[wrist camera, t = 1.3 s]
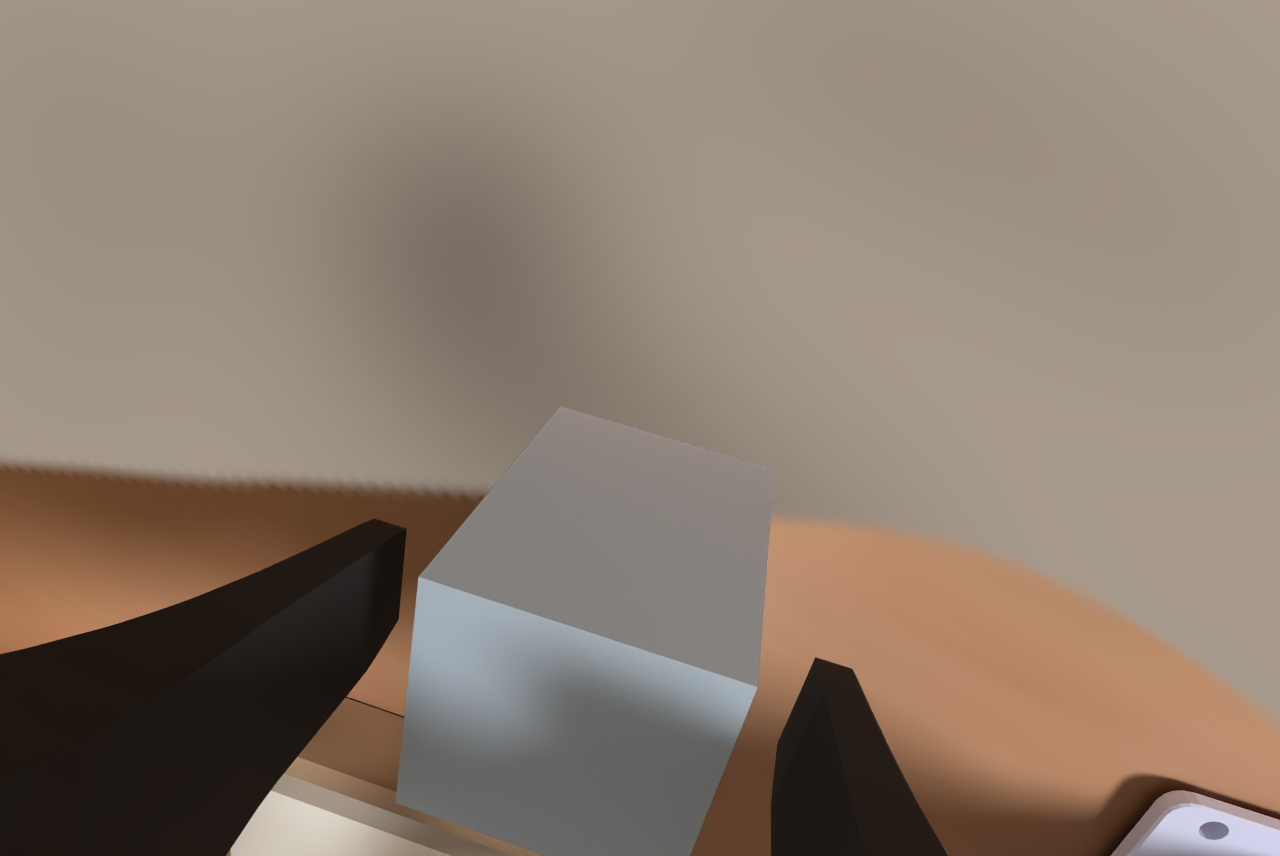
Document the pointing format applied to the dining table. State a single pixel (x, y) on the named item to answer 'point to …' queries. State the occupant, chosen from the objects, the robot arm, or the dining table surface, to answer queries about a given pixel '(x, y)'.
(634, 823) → the block
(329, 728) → the brown picture frame
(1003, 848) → the dining table surface
